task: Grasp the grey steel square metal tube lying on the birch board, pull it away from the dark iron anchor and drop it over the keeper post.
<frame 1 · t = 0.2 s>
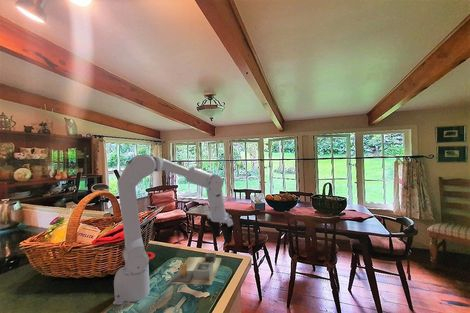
hand: (223, 239, 84), 10 cm above the table, tool pointing down, fingers open, 7 cm apart
tow hook: (143, 259, 93), on the table
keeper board: (198, 271, 81), on the table
keeper post: (183, 279, 76), resting on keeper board
square metal tube: (203, 275, 77), point 1 cm above the table, touching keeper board
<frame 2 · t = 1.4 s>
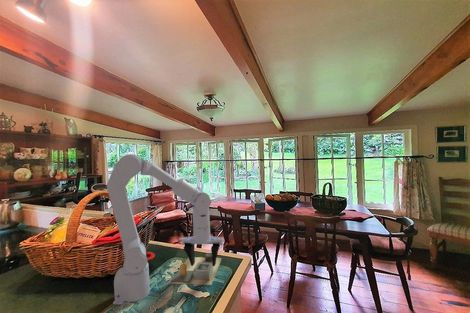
hand: (203, 264, 77), 5 cm above the table, tool pointing down, fingers open, 7 cm apart
nothing on the table moved.
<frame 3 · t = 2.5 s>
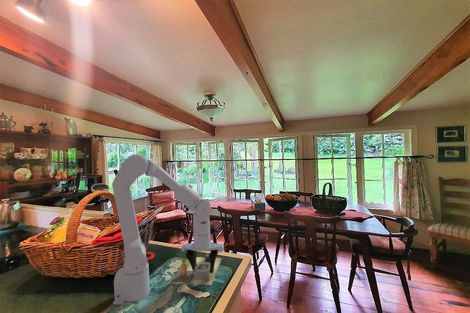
hand: (203, 271, 77), 2 cm above the table, tool pointing down, fingers closed on square metal tube, 6 cm apart
square metal tube: (203, 275, 77), point 1 cm above the table, touching gripper, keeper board
everything else where it was.
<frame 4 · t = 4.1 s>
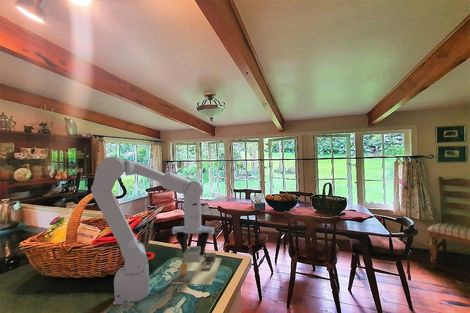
hand: (194, 254, 76), 9 cm above the table, tool pointing down, fingers closed on square metal tube, 6 cm apart
square metal tube: (194, 258, 76), point 7 cm above the table, touching gripper
everything else where it was.
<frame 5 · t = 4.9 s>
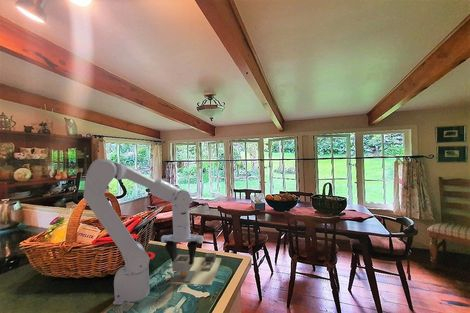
hand: (183, 262, 76), 6 cm above the table, tool pointing down, fingers closed on square metal tube, 6 cm apart
square metal tube: (183, 267, 76), point 4 cm above the table, touching gripper
everything else where it was.
when the fingers open (5 cm above the table, at t = 5.7 s): square metal tube drops 2 cm, resting on keeper post.
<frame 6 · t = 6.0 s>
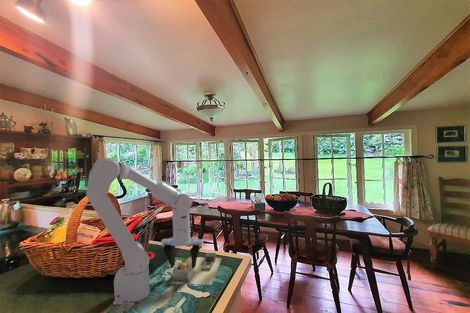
hand: (183, 266, 76), 5 cm above the table, tool pointing down, fingers open, 7 cm apart
square metal tube: (183, 275, 76), point 1 cm above the table, touching keeper post
everything else where it was.
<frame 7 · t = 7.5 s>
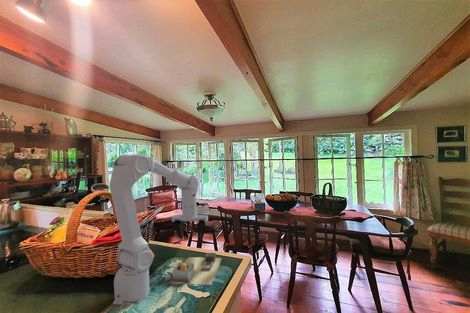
hand: (190, 238, 88), 9 cm above the table, tool pointing down, fingers open, 7 cm apart
nothing on the table moved.
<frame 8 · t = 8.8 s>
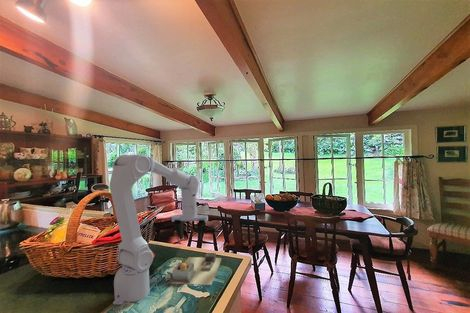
hand: (190, 238, 88), 9 cm above the table, tool pointing down, fingers open, 7 cm apart
nothing on the table moved.
at the end: square metal tube 0.0 cm from the keeper post (horizontally); square metal tube point 1.4 cm above the table; the gripper is holding nothing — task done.
